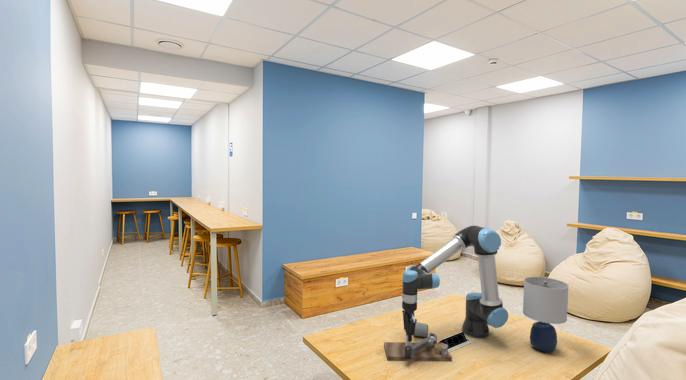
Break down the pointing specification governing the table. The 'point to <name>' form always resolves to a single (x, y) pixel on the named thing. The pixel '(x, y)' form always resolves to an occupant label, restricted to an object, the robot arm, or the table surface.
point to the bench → (397, 352)
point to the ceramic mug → (421, 330)
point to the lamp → (545, 309)
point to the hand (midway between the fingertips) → (408, 346)
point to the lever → (420, 345)
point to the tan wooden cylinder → (438, 348)
